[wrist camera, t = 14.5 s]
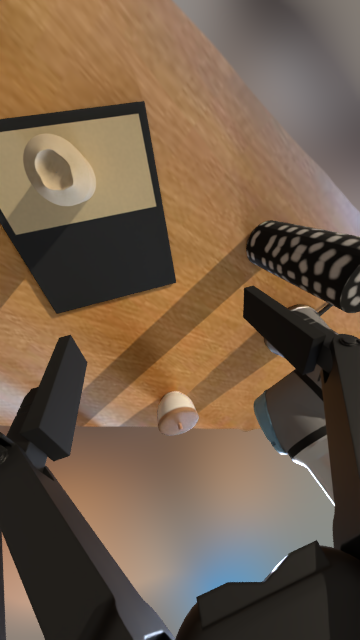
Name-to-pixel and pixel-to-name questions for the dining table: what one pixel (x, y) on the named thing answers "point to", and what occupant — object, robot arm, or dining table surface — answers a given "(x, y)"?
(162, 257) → the table mat
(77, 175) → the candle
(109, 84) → the dining table surface
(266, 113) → the dining table surface
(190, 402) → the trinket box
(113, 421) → the dining table surface
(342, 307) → the spotted tube
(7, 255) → the dining table surface
